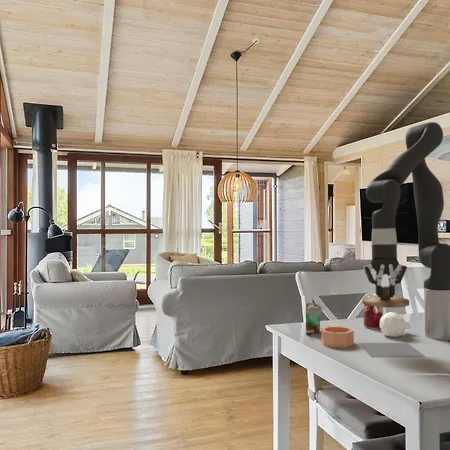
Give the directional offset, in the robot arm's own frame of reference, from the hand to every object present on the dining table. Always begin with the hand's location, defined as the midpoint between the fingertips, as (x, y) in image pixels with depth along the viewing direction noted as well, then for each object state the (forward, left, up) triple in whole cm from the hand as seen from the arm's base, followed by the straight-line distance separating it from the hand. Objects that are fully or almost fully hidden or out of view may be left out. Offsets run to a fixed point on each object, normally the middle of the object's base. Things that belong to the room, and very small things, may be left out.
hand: (385, 296), depth 139 cm
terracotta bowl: (+14, -8, -17) cm, 23 cm away
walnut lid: (0, 0, -2) cm, 2 cm away
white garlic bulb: (-9, -18, -17) cm, 26 cm away
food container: (+19, -26, -17) cm, 36 cm away
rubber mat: (-1, 0, -17) cm, 17 cm away
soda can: (-5, -33, -17) cm, 37 cm away
